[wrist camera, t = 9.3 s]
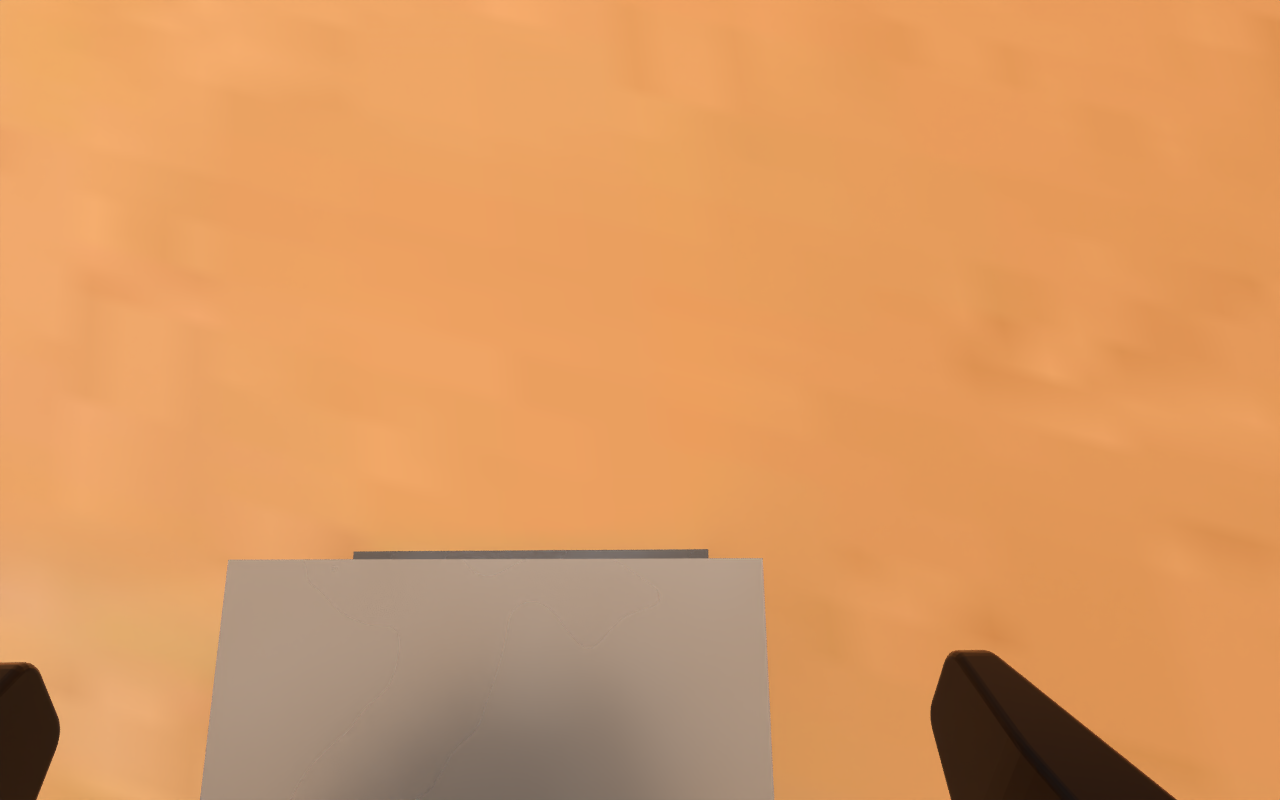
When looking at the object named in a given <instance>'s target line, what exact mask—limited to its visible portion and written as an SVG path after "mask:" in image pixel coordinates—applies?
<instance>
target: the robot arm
mask: <svg viewBox="0 0 1280 800" xmlns="http://www.w3.org/2000/svg"><path fill="white" fill-rule="evenodd" d="M931 725H932V730H933V733H934V737H935V741H936V745H937V748H938V752H939V756H940V760H941V763H942V767H943V771H944V775H945V778H946V782H947V786H948V790H949V793H950V797H951V800H1177V799H1175V798H1174V797H1173V796H1172V795H1170V794H1169V793H1168V792H1167V791H1165V790H1164V789H1163V788H1162V787H1160V786H1159V785H1158V784H1157V783H1155V782H1154V781H1153V780H1152V779H1150V778H1149V777H1148V776H1147V775H1145V774H1144V773H1143V772H1142V771H1140V770H1139V769H1138V768H1137V767H1135V766H1134V765H1133V764H1132V763H1130V762H1129V761H1128V760H1127V759H1125V758H1124V757H1123V756H1122V755H1120V754H1119V753H1118V752H1117V751H1115V750H1114V749H1113V748H1112V747H1110V746H1109V745H1108V744H1107V743H1105V742H1104V741H1103V740H1102V739H1100V738H1099V737H1098V736H1097V735H1095V734H1094V733H1093V732H1092V731H1090V730H1089V729H1088V728H1087V727H1085V726H1084V725H1083V724H1082V723H1080V722H1079V721H1078V720H1077V719H1075V718H1074V717H1073V716H1072V715H1070V714H1069V713H1068V712H1067V711H1065V710H1064V709H1063V708H1062V707H1060V706H1059V705H1058V704H1057V703H1056V702H1054V701H1053V700H1052V699H1051V698H1049V697H1048V696H1047V695H1046V694H1044V693H1043V692H1042V691H1041V690H1039V689H1038V688H1037V687H1036V686H1034V685H1033V684H1032V683H1031V682H1029V681H1028V680H1027V679H1026V678H1024V677H1023V676H1022V675H1021V674H1019V673H1018V672H1017V671H1016V670H1014V669H1013V668H1012V667H1011V666H1009V665H1008V664H1007V663H1006V662H1004V661H1003V660H1002V659H1001V658H999V657H998V656H997V655H995V654H994V653H992V652H990V651H986V650H956V651H953V652H951V653H950V654H949V655H948V656H947V658H946V660H945V662H944V665H943V669H942V672H941V675H940V678H939V681H938V684H937V688H936V691H935V694H934V697H933V700H932V704H931ZM59 735H60V725H59V719H58V716H57V713H56V711H55V708H54V706H53V704H52V701H51V699H50V696H49V694H48V691H47V689H46V686H45V684H44V681H43V679H42V676H41V674H40V672H39V670H38V669H37V668H36V667H35V666H33V665H32V664H31V663H26V662H15V663H0V800H36V799H37V797H38V794H39V792H40V789H41V786H42V784H43V781H44V779H45V776H46V774H47V771H48V768H49V766H50V763H51V761H52V758H53V756H54V753H55V751H56V748H57V745H58V740H59Z"/></svg>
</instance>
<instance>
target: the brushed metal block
mask: <svg viewBox="0 0 1280 800" xmlns="http://www.w3.org/2000/svg"><path fill="white" fill-rule="evenodd" d="M200 800H774V785H773V765H772V744H771V723H770V702H769V682H768V661H767V640H766V619H765V598H764V578H763V558H684V559H338V560H228V567H227V576H226V584H225V593H224V601H223V610H222V618H221V627H220V635H219V644H218V652H217V661H216V669H215V677H214V686H213V694H212V703H211V711H210V720H209V728H208V737H207V745H206V754H205V762H204V771H203V779H202V788H201V796H200Z"/></svg>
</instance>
